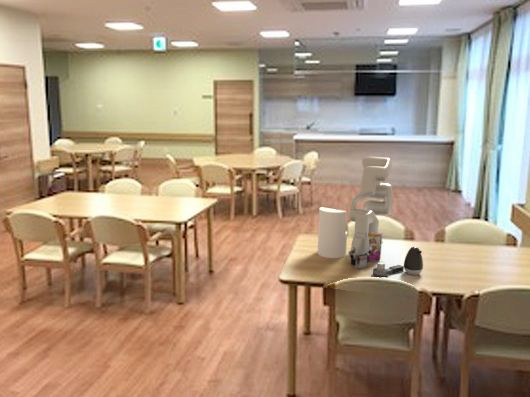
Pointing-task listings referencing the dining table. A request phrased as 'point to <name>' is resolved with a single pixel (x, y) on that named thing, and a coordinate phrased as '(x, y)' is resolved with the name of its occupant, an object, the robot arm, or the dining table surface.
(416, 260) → the dark brown rounded piece
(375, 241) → the candy bar box
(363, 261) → the cardboard mailer box
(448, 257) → the dining table surface
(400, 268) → the small saucepan
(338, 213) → the cylinder
